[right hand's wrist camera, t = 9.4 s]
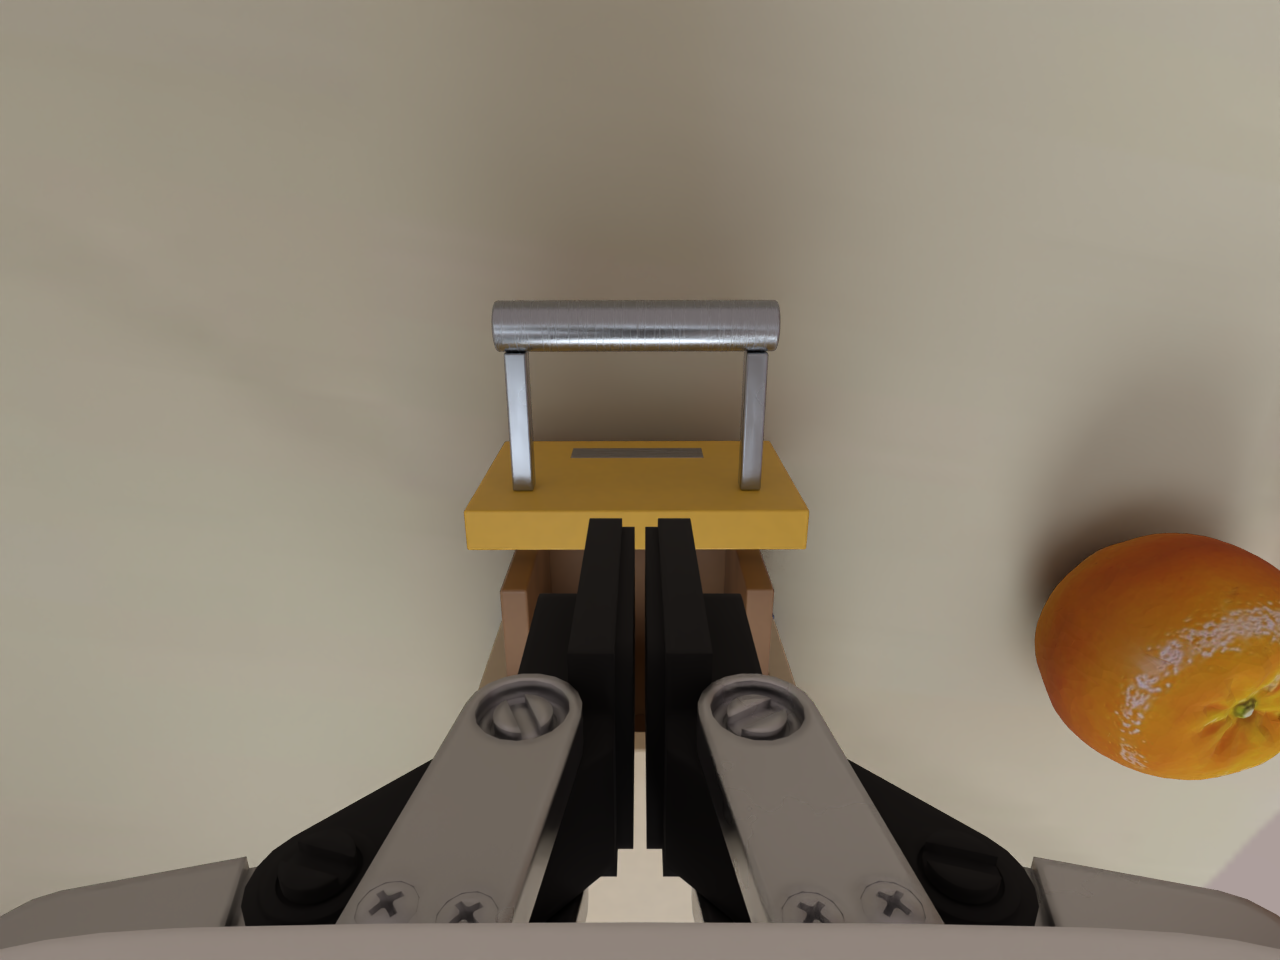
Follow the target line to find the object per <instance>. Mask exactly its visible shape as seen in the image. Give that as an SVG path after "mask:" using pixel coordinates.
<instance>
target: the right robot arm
mask: <svg viewBox="0 0 1280 960" xmlns="http://www.w3.org/2000/svg"><path fill="white" fill-rule="evenodd" d="M634 750H635V527H622V518H590V519H589V524H588V531H587V537H586V543H585V549H584V555H583V561H582V567H581V573H580V579H579V585H578V591H577V593H541V594H539V596H538V599H537V603H536V607H535V610H534V614H533V618H532V622H531V626H530V629H529V633H528V637H527V641H526V644H525V648H524V652H523V656H522V660H521V663H520V667H519V671H518V675H513V676H508V677H503V678H501V679H498V680H496V681H493V682H491V683H488V684H487V685H485V686H484V687H482V688H481V689H479V690H478V691H476V692H475V693H474V694H473V695H472V697H471V698H470V699H469V700H468V701H467V703H466V704H465V706H464V707H463V709H462V711H461V712H460V714H459V716H458V717H457V719H456V721H455V723H454V724H453V726H452V728H451V729H450V731H449V733H448V734H447V736H446V738H445V739H444V741H443V743H442V745H441V746H440V748H439V750H438V751H437V753H436V755H435V756H434V758H433V759H432V760H430V761H428V762H426V763H425V764H423V765H421V766H419V767H417V768H416V769H414V770H412V771H410V772H409V773H407V774H405V775H403V776H401V777H400V778H398V779H396V780H394V781H392V782H391V783H389V784H387V785H385V786H383V787H382V788H380V789H378V790H376V791H374V792H373V793H371V794H369V795H367V796H365V797H364V798H362V799H360V800H358V801H356V802H355V803H353V804H351V805H349V806H348V807H346V808H344V809H342V810H340V811H339V812H337V813H335V814H333V815H331V816H330V817H328V818H326V819H324V820H322V821H321V822H319V823H317V824H315V825H313V826H312V827H310V828H308V829H306V830H304V831H303V832H301V833H299V834H297V835H296V836H294V837H292V838H291V839H289V840H288V841H286V842H285V843H283V844H282V845H281V846H279V847H278V848H276V849H275V850H273V851H272V852H271V853H270V854H269V855H268V856H267V857H266V858H265V859H264V860H263V861H262V863H261V864H260V865H259V866H258V867H254V868H249V866H248V862H247V858H246V857H242V858H236V859H231V860H225V861H220V862H215V863H209V864H204V865H198V866H193V867H187V868H182V869H177V870H171V871H166V872H160V873H155V874H149V875H144V876H138V877H133V878H128V879H122V880H117V881H111V882H106V883H100V884H95V885H89V886H84V887H79V888H73V889H68V890H62V891H58V892H55V893H52V894H49V895H45V896H42V897H39V898H35V899H32V900H30V901H29V902H27V903H25V904H23V905H21V906H19V907H17V908H15V909H13V910H11V911H9V912H8V913H6V914H4V915H2V916H1V917H0V960H1280V917H1279V916H1278V915H1276V914H1274V913H1272V912H1271V911H1269V910H1267V909H1265V908H1263V907H1261V906H1259V905H1257V904H1255V903H1253V902H1251V901H1250V900H1248V899H1244V898H1241V897H1238V896H1235V895H1231V894H1228V893H1225V892H1222V891H1218V890H1212V889H1207V888H1201V887H1196V886H1191V885H1185V884H1180V883H1174V882H1169V881H1163V880H1158V879H1152V878H1147V877H1142V876H1136V875H1131V874H1125V873H1120V872H1114V871H1109V870H1103V869H1098V868H1093V867H1087V866H1082V865H1076V864H1071V863H1065V862H1060V861H1055V860H1049V859H1044V858H1038V857H1034V858H1033V862H1032V866H1031V868H1026V867H1022V866H1021V865H1020V864H1019V863H1018V861H1017V860H1016V859H1015V858H1014V857H1013V856H1012V855H1011V854H1010V853H1009V852H1008V851H1007V850H1005V849H1004V848H1002V847H1001V846H999V845H998V844H997V843H995V842H994V841H992V840H991V839H989V838H988V837H986V836H984V835H983V834H981V833H979V832H977V831H976V830H974V829H972V828H970V827H968V826H967V825H965V824H963V823H961V822H959V821H958V820H956V819H954V818H952V817H950V816H949V815H947V814H945V813H943V812H941V811H940V810H938V809H936V808H934V807H932V806H931V805H929V804H927V803H925V802H924V801H922V800H920V799H918V798H916V797H915V796H913V795H911V794H909V793H907V792H906V791H904V790H902V789H900V788H898V787H897V786H895V785H893V784H891V783H889V782H888V781H886V780H884V779H882V778H880V777H879V776H877V775H875V774H873V773H871V772H870V771H868V770H866V769H864V768H863V767H861V766H859V765H857V764H855V763H854V762H852V761H850V760H848V759H847V758H846V756H845V755H844V753H843V751H842V750H841V748H840V746H839V745H838V743H837V741H836V739H835V738H834V736H833V734H832V733H831V731H830V729H829V728H828V726H827V724H826V723H825V721H824V719H823V717H822V716H821V714H820V712H819V711H818V709H817V707H816V706H815V704H814V703H813V701H812V700H811V699H810V698H809V697H808V695H807V694H806V693H805V692H804V691H802V690H801V689H799V688H798V687H796V686H795V685H793V684H792V683H789V682H787V681H784V680H782V679H779V678H777V677H772V676H767V675H762V671H761V667H760V663H759V660H758V656H757V652H756V648H755V644H754V641H753V637H752V633H751V629H750V626H749V622H748V618H747V614H746V610H745V607H744V603H743V599H742V596H741V594H739V593H703V591H702V585H701V579H700V573H699V567H698V561H697V555H696V549H695V543H694V537H693V531H692V524H691V519H690V518H658V527H645V750H646V846H647V849H662V863H663V877H680V878H681V879H683V880H684V881H685V882H686V883H688V884H689V885H690V886H691V887H692V893H691V900H692V913H693V918H694V922H695V923H675V922H605V923H585V922H586V918H587V913H588V900H589V893H588V887H589V886H590V885H591V884H592V883H594V882H595V881H596V880H597V879H599V878H600V877H617V863H618V849H633V846H634Z"/></svg>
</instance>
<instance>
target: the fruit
mask: <svg viewBox="0 0 1280 960" xmlns="http://www.w3.org/2000/svg"><path fill="white" fill-rule="evenodd" d="M1035 654H1036V658H1037V664H1038V667H1039V670H1040V673H1041V676H1042V679H1043V682H1044V684H1045V687H1046V690H1047V692H1048V695H1049V698H1050V700H1051V703H1052V705H1053V707H1054V709H1055V711H1056V712H1057V713H1058V715H1059V716H1060V718H1061V719H1062V720H1063V722H1064V723H1065V724H1066V725H1067V727H1068V728H1069V729H1070V730H1072V731H1073V732H1074V733H1075V734H1076V735H1077V736H1078V737H1079V738H1080V739H1081V740H1082V741H1084V742H1085V743H1086V744H1087V745H1089V746H1090V747H1091V748H1093V749H1094V750H1096V751H1097V752H1099V753H1100V754H1102V755H1104V756H1106V757H1108V758H1110V759H1112V760H1114V761H1116V762H1118V763H1119V764H1121V765H1123V766H1126V767H1128V768H1131V769H1134V770H1136V771H1139V772H1142V773H1145V774H1149V775H1154V776H1158V777H1162V778H1172V779H1182V780H1202V779H1208V778H1214V777H1220V776H1224V775H1228V774H1232V773H1236V772H1240V771H1243V770H1246V769H1249V768H1252V767H1255V766H1258V765H1261V764H1263V763H1264V762H1266V761H1268V760H1269V759H1271V758H1273V757H1274V756H1275V755H1277V754H1278V753H1279V752H1280V571H1279V570H1278V569H1277V568H1275V567H1274V566H1273V565H1271V564H1270V563H1268V562H1266V561H1265V560H1263V559H1261V558H1260V557H1258V556H1256V555H1254V554H1252V553H1250V552H1248V551H1246V550H1244V549H1242V548H1239V547H1237V546H1234V545H1232V544H1229V543H1226V542H1223V541H1220V540H1217V539H1214V538H1210V537H1206V536H1199V535H1193V534H1187V533H1185V534H1180V533H1160V534H1152V535H1147V536H1142V537H1138V538H1134V539H1131V540H1128V541H1125V542H1122V543H1117V544H1114V545H1111V546H1108V547H1105V548H1103V549H1101V550H1098V551H1096V552H1095V553H1094V554H1092V555H1090V556H1089V557H1088V558H1086V559H1085V560H1084V561H1082V562H1081V563H1080V564H1079V565H1078V566H1077V567H1076V568H1074V569H1073V570H1072V571H1071V572H1070V573H1068V574H1067V575H1066V576H1065V577H1064V579H1063V580H1062V581H1061V582H1060V583H1059V584H1058V585H1057V586H1056V588H1055V589H1054V590H1053V592H1052V593H1051V595H1050V596H1049V598H1048V600H1047V602H1046V604H1045V606H1044V608H1043V610H1042V612H1041V615H1040V618H1039V620H1038V623H1037V627H1036V633H1035Z"/></svg>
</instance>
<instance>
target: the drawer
mask: <svg viewBox="0 0 1280 960" xmlns="http://www.w3.org/2000/svg"><path fill="white" fill-rule="evenodd" d="M492 335H493V341H494V345H495V348H496V350H497V351H499V352H505V354H504V365H505V380H506V394H507V409H508V424H509V439H510V441H506V442H505V443H504V445H503V446H502V448H501V450H500V451H499V453H498V455H497V456H496V458H495V460H494V461H493V463H492V465H491V467H490V468H489V470H488V472H487V473H486V475H485V477H484V478H483V480H482V482H481V483H480V485H479V487H478V489H477V490H476V492H475V494H474V495H473V497H472V499H471V500H470V502H469V504H468V505H467V507H466V509H465V511H464V519H465V529H466V540H467V548H468V550H515V552H514V555H513V558H512V560H511V563H510V566H509V569H508V571H507V574H506V577H505V579H504V582H503V585H502V588H501V590H500V598H501V611H502V624H503V637H504V649H505V662H506V675H507V677H508V676H513V675H518V671H519V667H520V663H521V660H522V656H523V652H524V648H525V644H526V641H527V637H528V633H529V629H530V626H531V622H532V618H533V614H534V610H535V607H536V603H537V599H538V596H539V594H541V593H577V591H578V585H579V579H580V573H581V567H582V561H583V555H584V549H585V543H586V537H587V531H588V524H589V519H590V518H622V527H635V732H645V527H658V518H690V519H691V524H692V531H693V537H694V543H695V549H696V555H697V561H698V567H699V573H700V579H701V585H702V591H703V593H739V594H741V596H742V599H743V603H744V607H745V610H746V614H747V618H748V622H749V626H750V629H751V633H752V637H753V641H754V644H755V648H756V652H757V656H758V660H759V663H760V667H761V671H762V675H767V676H768V672H769V657H770V643H771V628H772V614H773V600H774V589H773V586H772V583H771V580H770V578H769V575H768V572H767V569H766V566H765V563H764V561H763V558H762V555H761V552H760V549H805V548H806V543H807V531H808V520H809V510H808V508H807V506H806V504H805V503H804V501H803V499H802V497H801V496H800V494H799V492H798V490H797V489H796V487H795V485H794V483H793V482H792V480H791V478H790V476H789V475H788V473H787V471H786V469H785V467H784V466H783V464H782V462H781V460H780V459H779V457H778V455H777V453H776V452H775V450H774V448H773V446H772V445H771V443H770V441H763V438H764V421H765V404H766V387H767V370H768V353H767V352H766V351H774V350H776V348H777V345H778V342H779V335H780V309H779V304H778V302H777V301H776V300H549V301H495V302H494V305H493V309H492ZM624 351H744V365H743V386H742V408H741V429H740V441H533V425H532V407H531V389H530V371H529V352H624Z"/></svg>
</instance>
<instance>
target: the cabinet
mask: <svg viewBox="0 0 1280 960" xmlns="http://www.w3.org/2000/svg"><path fill="white" fill-rule="evenodd" d="M768 676H772V677H777V678H779V679H782V680H784V681H787V682H789V683H792V684H793V685H795V682H794V679H793V676H792V673H791V670H790V667H789V664H788V661H787V658H786V655H785V652H784V649H783V646H782V643H781V640H780V637H779V633H778V630H777V627H776V624H775V621H774V615H773V614H772V628H771V643H770V657H769V672H768ZM503 677H507V675H506V662H505V649H504V637H503V624H502V621H501V624H500V627H499V630H498V633H497V636H496V639H495V642H494V645H493V648H492V651H491V654H490V657H489V660H488V663H487V666H486V668H485V671H484V674H483V677H482V680H481V683H480V686H479V689H481V688H482V687H484V686H485V685H487V684H488V683H491V682H493V681H496V680H498V679H501V678H503ZM795 686H796V685H795ZM479 689H478V690H479ZM588 893H589V900H588V913H587V918H586V922H585V923H605V922H675V923H695V922H694V918H693V913H692V900H691V893H692V887H691V886H690V885H689V884H688V883H686V882H685V881H684V880H683V879H681V878H680V877H663V863H662V849H647V846H646V750H645V732H635V750H634V846H633V849H618V863H617V877H600V878H599V879H597V880H596V881H595V882H594V883H592V884H591V885H590V886H589V887H588Z"/></svg>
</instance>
